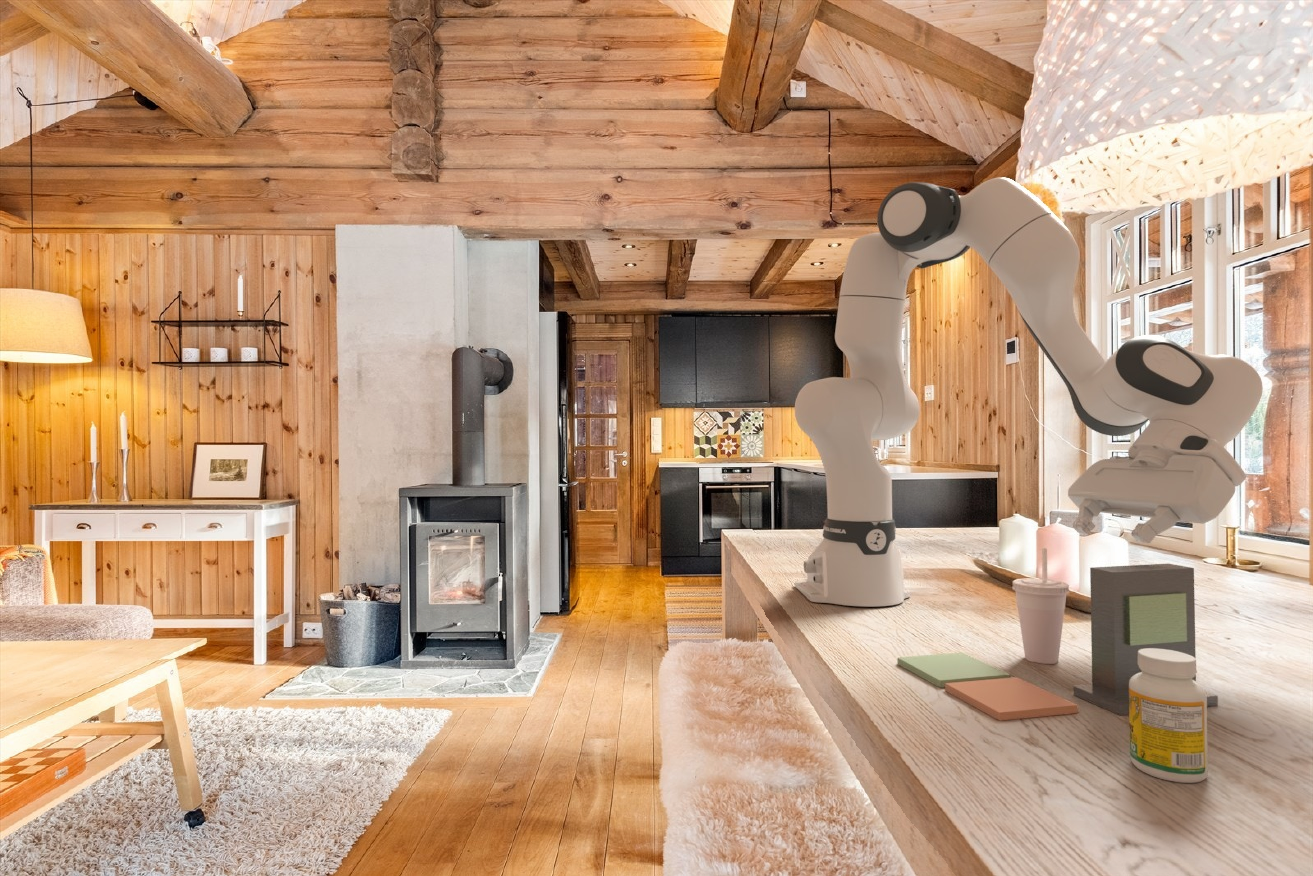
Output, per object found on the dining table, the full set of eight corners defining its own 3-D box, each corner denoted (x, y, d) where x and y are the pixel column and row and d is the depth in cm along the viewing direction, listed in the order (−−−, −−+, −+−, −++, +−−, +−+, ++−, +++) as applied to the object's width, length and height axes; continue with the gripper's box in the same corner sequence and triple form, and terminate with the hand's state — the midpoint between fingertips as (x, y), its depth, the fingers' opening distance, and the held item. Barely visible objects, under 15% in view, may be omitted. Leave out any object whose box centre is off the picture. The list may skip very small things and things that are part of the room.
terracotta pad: (945, 690, 80) (945, 683, 80) (1016, 684, 82) (1016, 677, 82) (999, 720, 71) (999, 712, 71) (1078, 712, 73) (1077, 705, 73)
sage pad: (897, 664, 90) (897, 657, 90) (962, 658, 92) (961, 652, 92) (940, 687, 81) (939, 680, 81) (1010, 681, 83) (1010, 674, 83)
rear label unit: (1073, 695, 78) (1071, 565, 78) (1166, 686, 81) (1163, 561, 81) (1119, 715, 72) (1117, 575, 72) (1217, 705, 75) (1215, 570, 75)
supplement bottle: (1197, 791, 56) (1195, 668, 57) (1119, 768, 61) (1118, 653, 61) (1216, 771, 60) (1214, 655, 60) (1142, 750, 64) (1140, 642, 64)
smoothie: (1078, 668, 87) (1076, 552, 87) (1021, 665, 89) (1019, 551, 89) (1060, 653, 94) (1058, 545, 94) (1007, 651, 95) (1005, 544, 95)
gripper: (1092, 442, 105) (1034, 511, 103) (1230, 440, 85) (1162, 526, 83) (1118, 472, 106) (1062, 541, 104) (1261, 477, 86) (1195, 563, 84)
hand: (1107, 534), depth 93 cm, fingers open, 8 cm apart
